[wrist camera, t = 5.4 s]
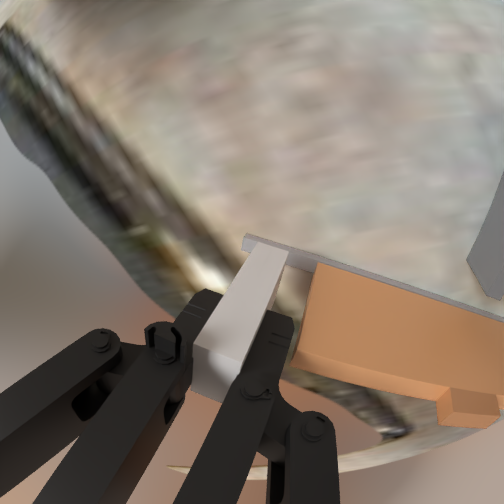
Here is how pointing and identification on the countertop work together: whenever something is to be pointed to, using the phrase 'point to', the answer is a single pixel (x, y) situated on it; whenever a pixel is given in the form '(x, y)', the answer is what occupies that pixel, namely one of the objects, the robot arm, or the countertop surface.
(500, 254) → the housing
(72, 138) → the countertop surface
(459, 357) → the lid panel
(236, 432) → the robot arm
